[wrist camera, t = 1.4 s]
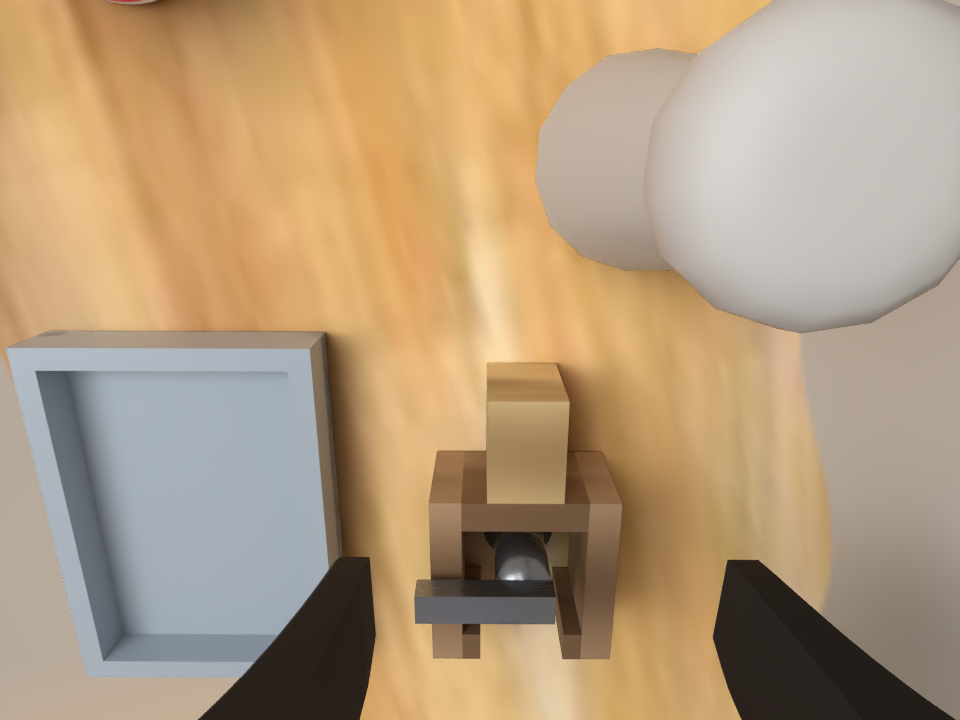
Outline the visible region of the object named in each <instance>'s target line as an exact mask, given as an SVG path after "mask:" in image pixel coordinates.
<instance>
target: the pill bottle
mask: <svg viewBox="0 0 960 720" xmlns="http://www.w3.org/2000/svg"><path fill="white" fill-rule="evenodd" d="M107 1H110V2H115V3H120V4H144V3H150V2H153V1H157V0H107Z"/></svg>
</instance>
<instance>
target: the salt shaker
mask: <svg viewBox="0 0 960 720" xmlns="http://www.w3.org/2000/svg"><path fill="white" fill-rule="evenodd" d="M536 184H537V187H538V190H539V193H540V196H541V199H542V202H543V206H544V209H545V212H546V215H547V218H548V221H549V224H550V226H551V227H552V228H553V229H554V230H555V231H556V232H557V233H558V234H559V235H560V236H562V237H563V238H564V239H565V240H566V241H567V242H568V243H569V244H570V245H571V246H572V247H573V248H574V249H575V250H576V251H578V252H579V253H580V254H581V255H582V256H583V257H586V258H589V259H592V260H595V261H598V262H601V263H604V264H607V265H610V266H613V267H616V268H619V269H622V270H676V271H677V272H678V273H679V274H680V275H681V276H682V277H683V278H684V279H685V280H686V281H687V282H688V283H689V284H690V285H691V286H692V287H693V288H694V289H695V290H696V291H697V292H698V293H699V294H700V295H701V296H702V297H703V298H704V299H705V300H707V301H708V302H709V303H710V304H711V305H712V306H713V307H714V308H716V309H719V310H722V311H725V312H728V313H731V314H734V315H737V316H740V317H743V318H746V319H749V320H752V321H755V322H758V323H761V324H764V325H767V326H770V327H773V328H776V329H781V330H786V331H792V332H797V333H807V332H813V331H820V330H826V329H833V328H840V327H847V326H853V325H860V324H867V323H872V322H874V321H876V320H877V319H879V318H881V317H883V316H884V315H886V314H888V313H890V312H892V311H893V310H895V309H897V308H898V307H900V306H902V305H904V304H906V303H907V302H909V301H911V300H913V299H915V298H916V297H918V296H919V295H922V294H923V293H925V292H927V291H929V290H930V289H932V288H934V287H936V286H938V285H939V284H940V282H941V281H942V280H943V278H944V277H945V276H946V275H947V274H948V272H949V271H950V270H951V269H952V267H953V266H954V265H955V264H956V263H957V261H958V260H959V259H960V7H959V6H956V5H953V4H951V3H948V2H945V1H942V0H773V1H772V2H770V3H769V4H767V5H766V6H765V7H763V8H762V9H760V10H759V11H758V12H756V13H755V14H753V15H752V16H751V17H749V18H748V19H746V20H745V21H744V22H742V23H741V24H739V25H738V26H737V27H735V28H734V29H732V30H731V31H730V32H728V33H727V34H725V35H724V36H723V37H721V38H720V39H718V40H717V41H716V42H714V43H713V44H711V45H710V46H709V47H707V48H706V49H704V50H703V51H702V52H700V53H699V54H692V53H686V52H679V51H673V50H666V49H659V48H657V49H650V50H643V51H636V52H630V53H623V54H616V55H609V56H607V57H605V58H604V59H603V60H601V61H600V62H599V63H597V64H596V65H595V66H593V67H592V68H591V69H589V70H588V71H587V72H585V73H584V74H582V75H581V76H580V77H578V78H577V79H576V80H574V81H573V82H572V83H570V84H569V85H568V86H566V88H565V90H564V91H563V93H562V95H561V96H560V98H559V100H558V101H557V103H556V105H555V106H554V108H553V110H552V111H551V113H550V115H549V116H548V118H547V120H546V121H545V123H544V125H543V126H542V128H541V130H540V131H539V144H538V156H537V169H536Z"/></svg>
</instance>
